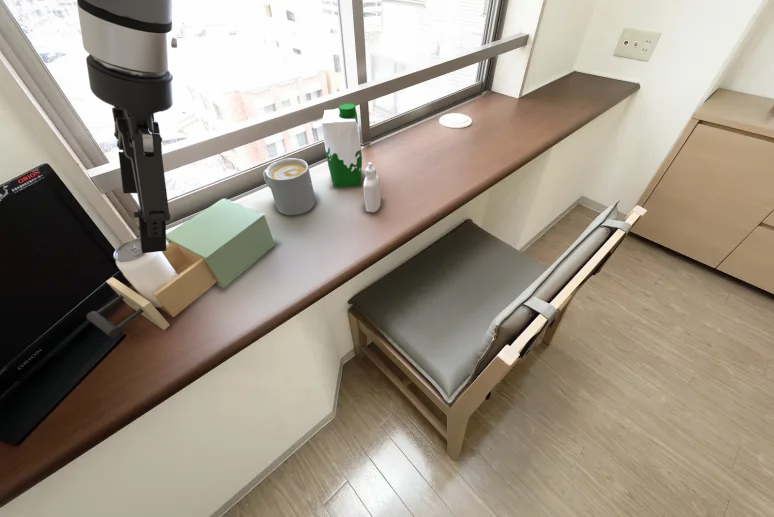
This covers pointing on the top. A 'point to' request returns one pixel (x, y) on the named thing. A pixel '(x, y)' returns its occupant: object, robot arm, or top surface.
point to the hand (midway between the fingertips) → (143, 219)
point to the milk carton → (343, 145)
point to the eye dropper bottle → (372, 189)
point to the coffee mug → (290, 186)
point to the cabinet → (225, 238)
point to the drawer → (161, 291)
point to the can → (144, 269)
